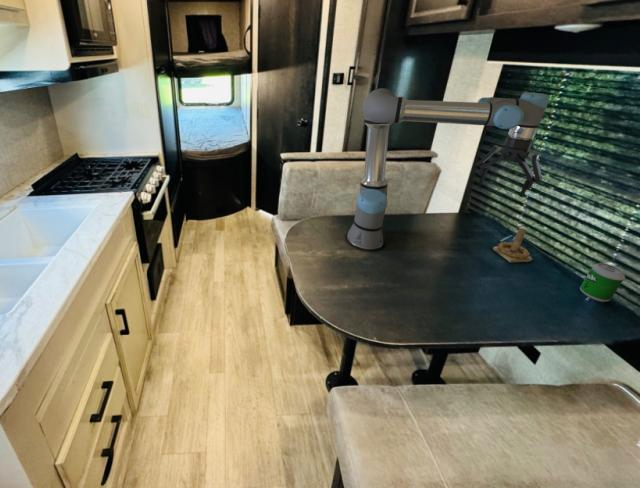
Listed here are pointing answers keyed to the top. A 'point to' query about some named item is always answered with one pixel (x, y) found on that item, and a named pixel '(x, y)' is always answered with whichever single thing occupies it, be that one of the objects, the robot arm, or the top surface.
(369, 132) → the robot arm
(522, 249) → the ring
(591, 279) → the soda can
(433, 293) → the top surface
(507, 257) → the rack
